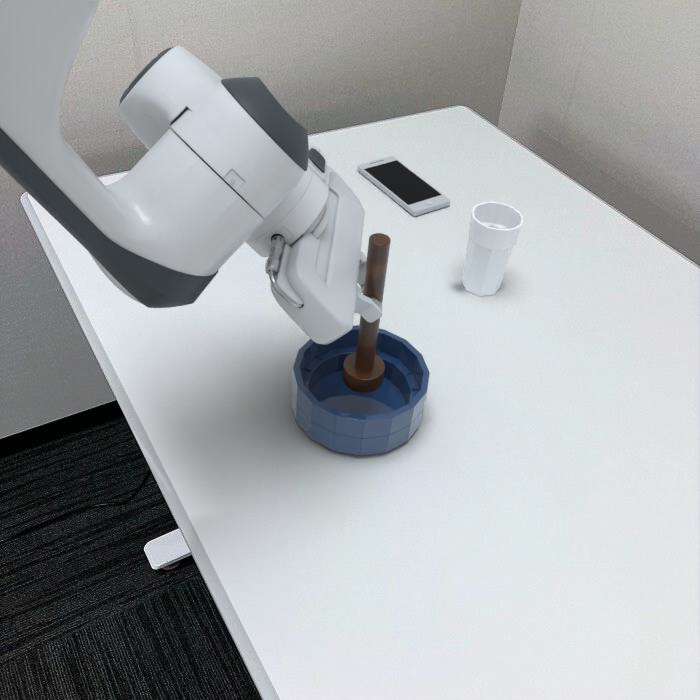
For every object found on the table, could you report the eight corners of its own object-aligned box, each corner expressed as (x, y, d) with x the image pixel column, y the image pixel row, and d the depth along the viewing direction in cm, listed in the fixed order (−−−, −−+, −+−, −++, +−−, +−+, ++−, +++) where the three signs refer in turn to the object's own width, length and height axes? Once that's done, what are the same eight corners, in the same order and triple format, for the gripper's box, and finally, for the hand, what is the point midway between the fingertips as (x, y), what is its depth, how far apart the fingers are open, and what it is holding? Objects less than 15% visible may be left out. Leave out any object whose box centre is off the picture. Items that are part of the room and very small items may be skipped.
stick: (357, 398, 81) (374, 258, 69) (334, 373, 83) (346, 233, 71) (391, 383, 83) (413, 244, 71) (367, 359, 85) (384, 220, 73)
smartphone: (414, 216, 116) (415, 211, 116) (356, 169, 125) (357, 164, 125) (450, 205, 120) (451, 200, 119) (391, 160, 129) (392, 155, 128)
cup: (481, 264, 109) (498, 196, 101) (514, 289, 105) (534, 221, 98) (446, 278, 106) (460, 209, 98) (479, 305, 102) (497, 236, 95)
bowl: (340, 479, 79) (345, 440, 75) (268, 392, 87) (268, 353, 83) (447, 424, 86) (456, 386, 82) (370, 348, 94) (375, 310, 90)
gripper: (291, 257, 60) (401, 361, 67) (317, 136, 75) (405, 230, 82) (235, 296, 63) (346, 392, 70) (271, 172, 79) (359, 260, 85)
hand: (378, 304), depth 76 cm, fingers closed on stick, 2 cm apart
